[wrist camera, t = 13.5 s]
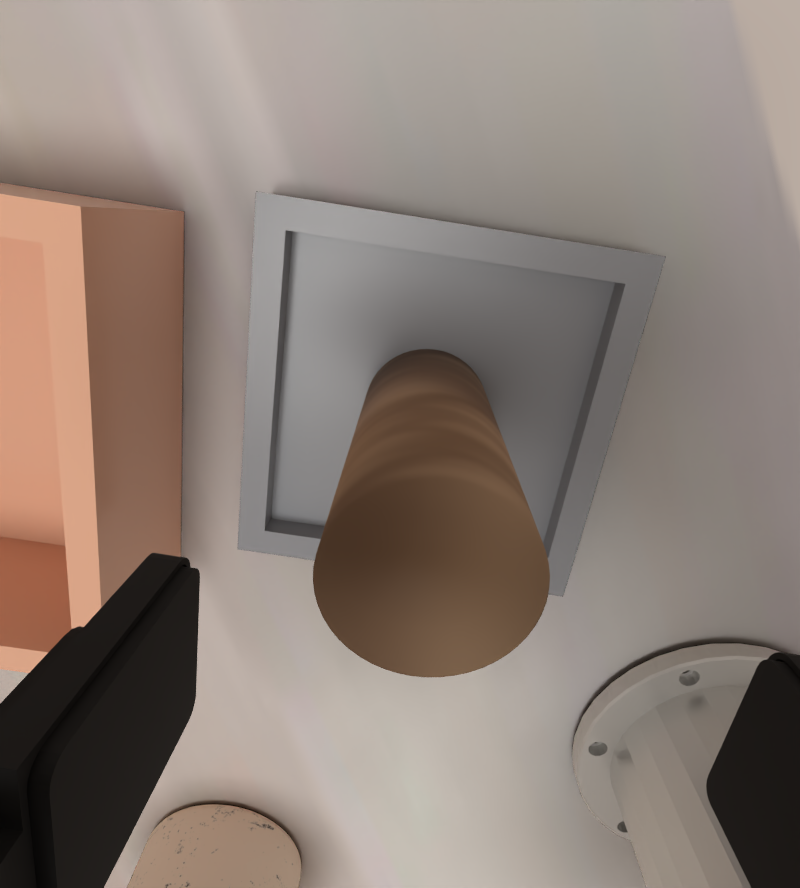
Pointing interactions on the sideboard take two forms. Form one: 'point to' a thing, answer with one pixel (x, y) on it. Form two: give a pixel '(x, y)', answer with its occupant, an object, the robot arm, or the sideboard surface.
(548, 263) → the grey tray
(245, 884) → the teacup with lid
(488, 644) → the walnut dowel
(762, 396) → the sideboard surface
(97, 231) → the terracotta open box
